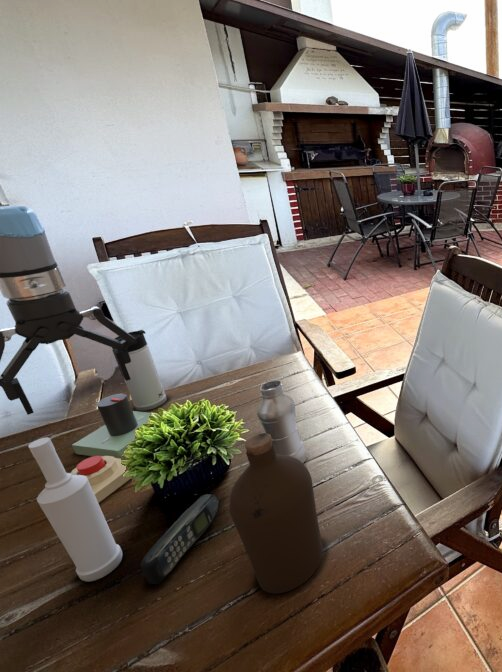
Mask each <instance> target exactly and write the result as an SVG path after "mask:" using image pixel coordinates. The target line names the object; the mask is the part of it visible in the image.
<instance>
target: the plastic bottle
mask: <svg viewBox="0 0 502 672" xmlns="http://www.w3.org/2000/svg"><path fill="white" fill-rule="evenodd" d="M259 391H260V398H262V399H261V401H260V402H259V405H258V406H257V411H256V415H257V418H258V420H259V422H260V424H261V426H262V428H263V429H264V433H268V434H270V435H271V438H272V441H273V442H274V447H275V451H276V454H280V455H286V456H291V457H294V458H296V459H298V460H300V461H301V462H302V463H303V464H304V463H305V461H306V459H307V447H306V445H305V443H304V441H303V439H302V437H301V435H300V432H299V429H298V428H299V427H298V422H297V415H296V403H295V400H294V398H292V397H291V396H290V395H289V394H287V393H286V392H285V387H284V386H283V382H282V380H279V379H272V380H269V381H267V382H264V383H263V384H261V385H260V387H259Z"/></svg>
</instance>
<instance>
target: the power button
mask: <svg viewBox="0 0 502 672" xmlns="http://www.w3.org/2000/svg"><path fill="white" fill-rule="evenodd" d="M104 466H105V462H104V460H103V458H102V456H89V457H88V458H85V459H83V460H82V461H80V462H79V463H78V464H77V465H76V467H75V468H77V470H78V472H79V474H80V475H83V476H87V475H91V474H93V473H95V472H98V471H99V470H101V469H102V468H103V467H104Z"/></svg>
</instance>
